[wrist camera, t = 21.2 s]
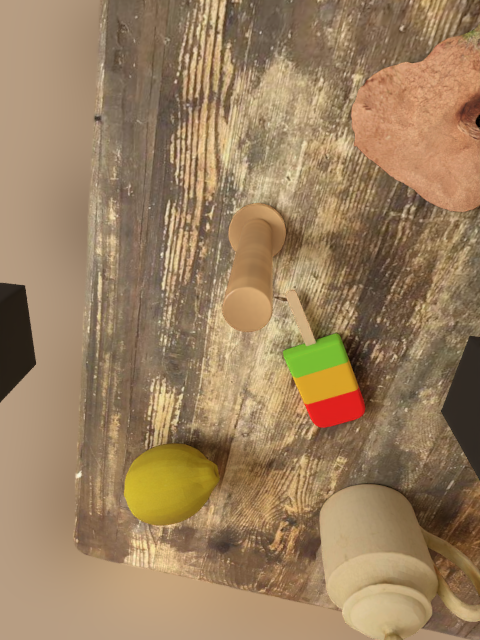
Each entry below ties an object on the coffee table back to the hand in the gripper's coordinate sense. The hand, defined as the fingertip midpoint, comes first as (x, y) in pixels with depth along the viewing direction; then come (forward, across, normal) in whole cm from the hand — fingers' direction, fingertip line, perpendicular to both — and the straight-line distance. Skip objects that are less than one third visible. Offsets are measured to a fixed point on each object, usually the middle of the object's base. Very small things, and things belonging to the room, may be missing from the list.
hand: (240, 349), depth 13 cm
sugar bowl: (+25, +18, -34) cm, 46 cm away
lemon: (+25, -6, -29) cm, 39 cm away
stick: (+25, 0, -3) cm, 25 cm away
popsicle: (+25, +7, -14) cm, 29 cm away
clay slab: (+25, +15, +7) cm, 30 cm away
